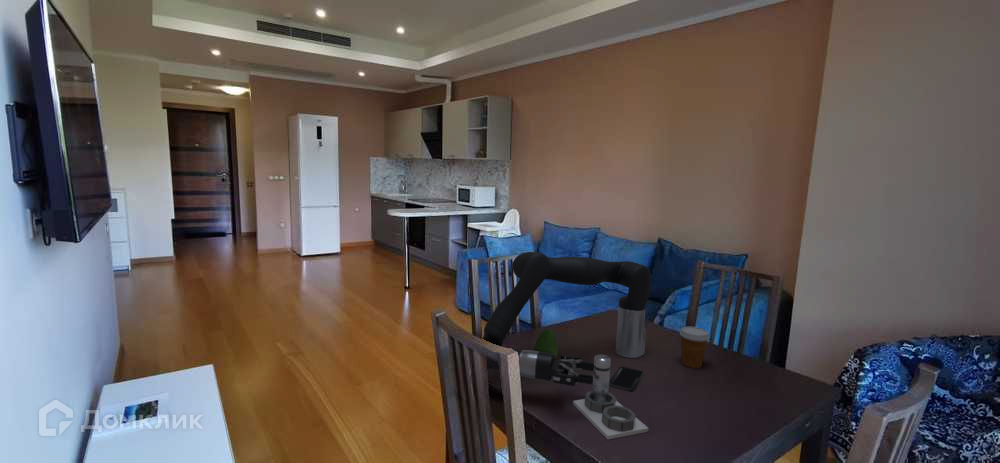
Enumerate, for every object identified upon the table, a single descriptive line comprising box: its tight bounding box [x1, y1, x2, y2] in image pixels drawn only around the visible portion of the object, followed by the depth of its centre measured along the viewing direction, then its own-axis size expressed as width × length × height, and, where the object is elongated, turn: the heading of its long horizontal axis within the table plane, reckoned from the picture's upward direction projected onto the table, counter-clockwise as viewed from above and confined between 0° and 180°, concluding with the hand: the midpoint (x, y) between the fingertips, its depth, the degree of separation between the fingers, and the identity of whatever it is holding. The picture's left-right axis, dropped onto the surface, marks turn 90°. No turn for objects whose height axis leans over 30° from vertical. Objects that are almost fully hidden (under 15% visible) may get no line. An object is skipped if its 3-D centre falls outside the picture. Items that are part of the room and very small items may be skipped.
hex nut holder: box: [572, 390, 649, 440], centre depth 127 cm, size 12×18×4 cm, turn 19°
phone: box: [609, 366, 645, 393], centre depth 150 cm, size 8×1×15 cm
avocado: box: [533, 328, 559, 360], centre depth 160 cm, size 8×8×12 cm
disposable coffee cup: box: [679, 326, 710, 369], centre depth 163 cm, size 10×10×12 cm
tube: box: [591, 354, 612, 403], centre depth 131 cm, size 4×4×14 cm
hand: (594, 373), depth 131 cm, fingers open, 8 cm apart
